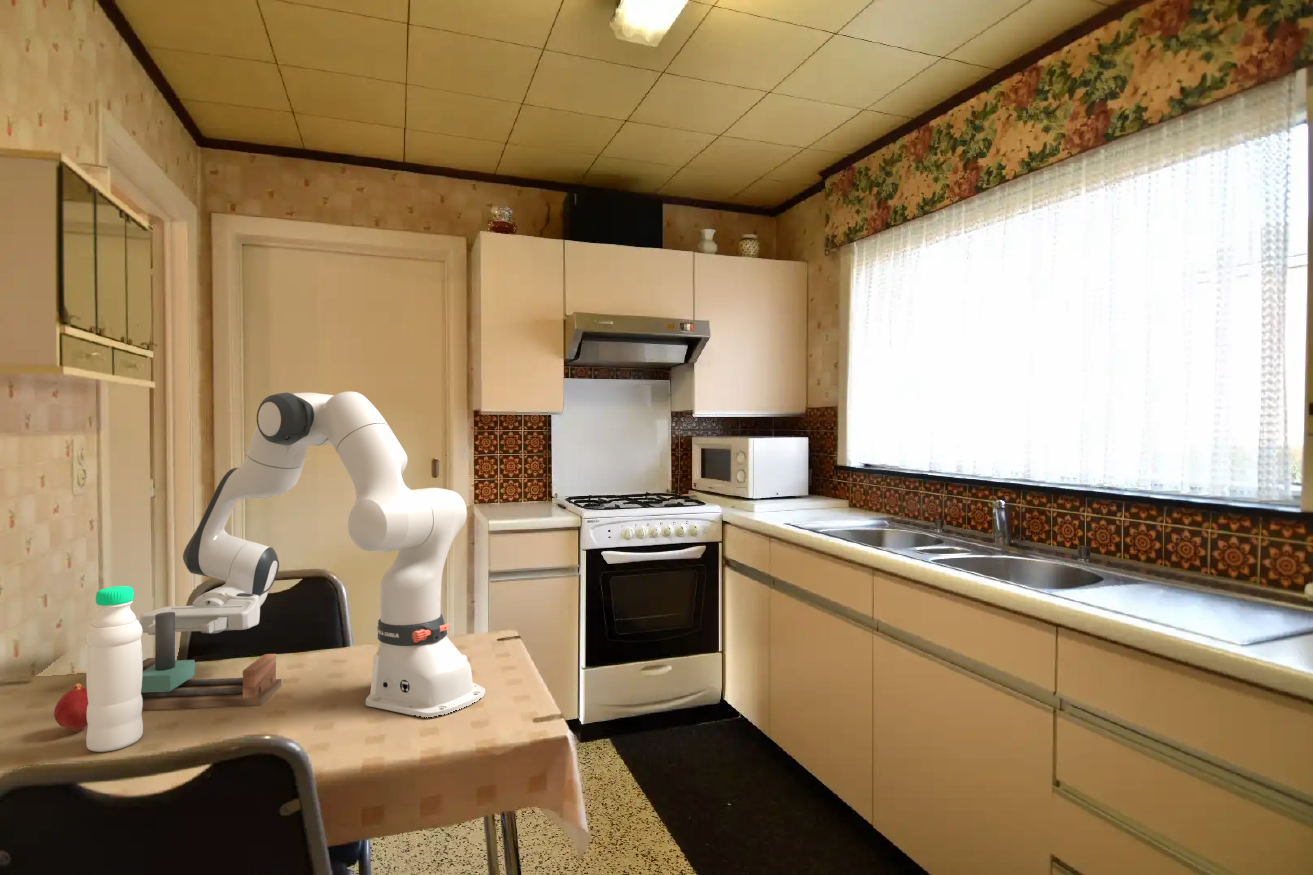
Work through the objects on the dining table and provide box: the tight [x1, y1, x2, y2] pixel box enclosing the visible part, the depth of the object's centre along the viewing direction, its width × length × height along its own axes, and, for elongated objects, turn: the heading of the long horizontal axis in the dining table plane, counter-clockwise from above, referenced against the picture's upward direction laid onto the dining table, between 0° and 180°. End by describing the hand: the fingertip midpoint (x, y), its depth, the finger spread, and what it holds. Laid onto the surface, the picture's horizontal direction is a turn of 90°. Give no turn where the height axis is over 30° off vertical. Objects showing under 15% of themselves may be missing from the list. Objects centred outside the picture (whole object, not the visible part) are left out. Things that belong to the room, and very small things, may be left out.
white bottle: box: [85, 585, 144, 753], centre depth 108 cm, size 7×7×25 cm
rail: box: [141, 653, 282, 711], centre depth 126 cm, size 24×9×6 cm, turn 97°
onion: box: [53, 683, 88, 733], centre depth 112 cm, size 6×6×8 cm
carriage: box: [141, 612, 196, 693], centre depth 125 cm, size 6×8×13 cm
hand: (178, 629), depth 129 cm, fingers open, 8 cm apart
